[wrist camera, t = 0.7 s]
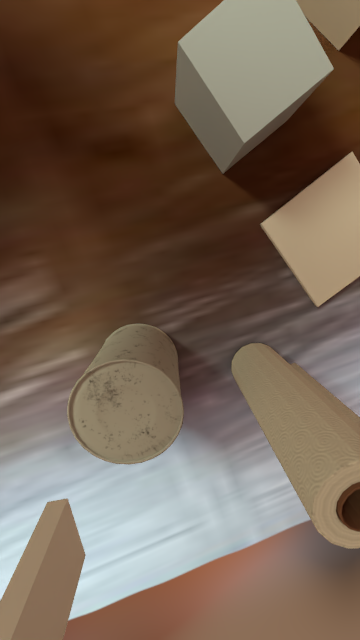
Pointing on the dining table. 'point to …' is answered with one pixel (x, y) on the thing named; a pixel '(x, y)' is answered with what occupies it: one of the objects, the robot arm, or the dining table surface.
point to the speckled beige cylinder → (129, 397)
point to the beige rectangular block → (333, 18)
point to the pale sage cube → (246, 74)
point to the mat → (322, 231)
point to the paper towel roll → (307, 438)
